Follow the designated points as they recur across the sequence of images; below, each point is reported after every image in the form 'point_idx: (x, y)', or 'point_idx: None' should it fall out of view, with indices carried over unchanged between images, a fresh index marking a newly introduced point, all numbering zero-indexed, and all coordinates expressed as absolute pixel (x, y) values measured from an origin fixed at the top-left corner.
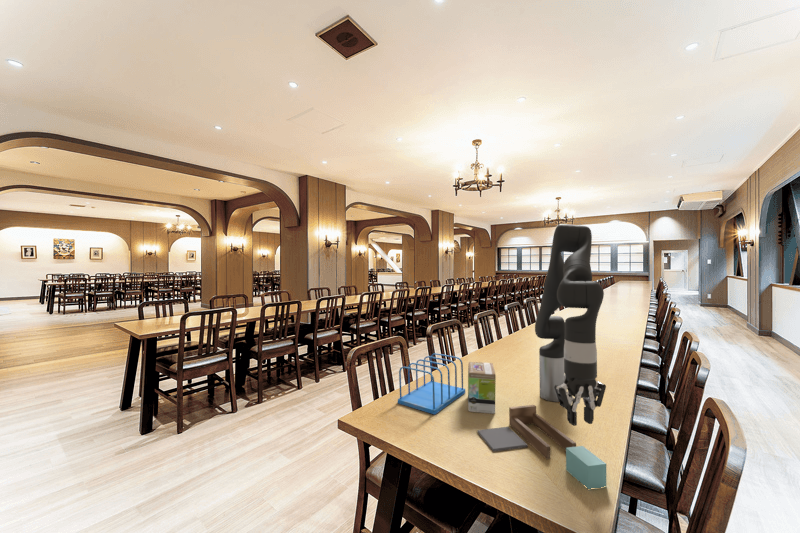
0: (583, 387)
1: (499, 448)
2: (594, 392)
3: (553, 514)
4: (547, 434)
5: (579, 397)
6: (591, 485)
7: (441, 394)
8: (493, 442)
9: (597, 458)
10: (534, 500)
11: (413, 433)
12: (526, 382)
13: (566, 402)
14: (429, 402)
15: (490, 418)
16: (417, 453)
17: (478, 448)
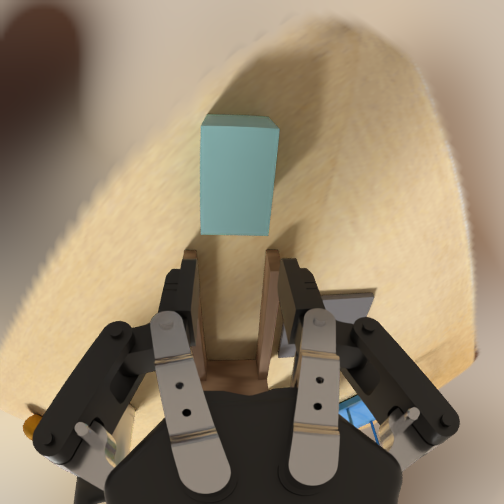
0: (255, 472)
1: (360, 297)
2: (113, 414)
3: (410, 85)
4: (202, 327)
5: (310, 390)
6: (258, 117)
7: (352, 422)
8: (355, 315)
9: (206, 160)
10: (416, 133)
11: (437, 344)
12: (137, 435)
13: (392, 354)
14: (363, 408)
15: (286, 380)
16: (470, 300)
17: (388, 304)
